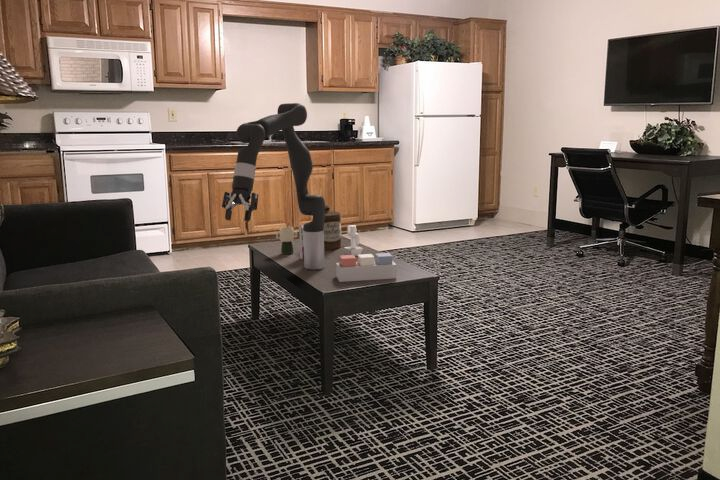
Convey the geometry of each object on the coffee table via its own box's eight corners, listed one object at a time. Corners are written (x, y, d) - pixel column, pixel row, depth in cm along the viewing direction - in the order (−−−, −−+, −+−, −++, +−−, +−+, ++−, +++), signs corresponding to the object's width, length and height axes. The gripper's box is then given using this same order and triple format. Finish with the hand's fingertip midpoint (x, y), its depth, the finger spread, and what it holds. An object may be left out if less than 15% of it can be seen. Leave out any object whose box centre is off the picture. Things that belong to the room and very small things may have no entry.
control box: (336, 276, 252) (336, 262, 251) (391, 273, 257) (391, 259, 255) (339, 281, 244) (339, 267, 242) (396, 278, 248) (396, 264, 247)
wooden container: (320, 251, 300) (319, 208, 296) (309, 245, 313) (307, 205, 309) (346, 247, 307) (345, 206, 303) (334, 242, 320) (333, 202, 315)
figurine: (352, 257, 285) (351, 227, 282) (342, 254, 293) (342, 224, 290) (364, 256, 289) (364, 226, 286) (355, 252, 297) (354, 223, 294)
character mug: (296, 251, 301) (295, 226, 298) (299, 254, 294) (298, 228, 291) (275, 253, 297) (274, 227, 294) (278, 256, 290) (277, 230, 288)
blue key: (375, 264, 253) (375, 253, 252) (388, 264, 254) (388, 252, 253) (378, 268, 247) (378, 256, 246) (392, 267, 248) (392, 255, 247)
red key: (339, 266, 250) (339, 255, 249) (353, 266, 251) (353, 254, 250) (342, 270, 244) (341, 258, 243) (356, 269, 245) (356, 258, 244)
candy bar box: (321, 256, 289) (320, 223, 286) (324, 258, 285) (323, 225, 281) (299, 258, 285) (298, 225, 282) (302, 260, 281) (301, 226, 277)
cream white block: (357, 265, 252) (357, 254, 251) (371, 265, 253) (371, 253, 252) (360, 269, 246) (360, 257, 245) (374, 268, 247) (374, 256, 246)
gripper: (265, 180, 214) (259, 223, 212) (235, 179, 220) (228, 221, 218) (253, 174, 207) (246, 219, 205) (222, 174, 213) (215, 217, 212)
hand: (237, 220), depth 212 cm, fingers open, 8 cm apart
